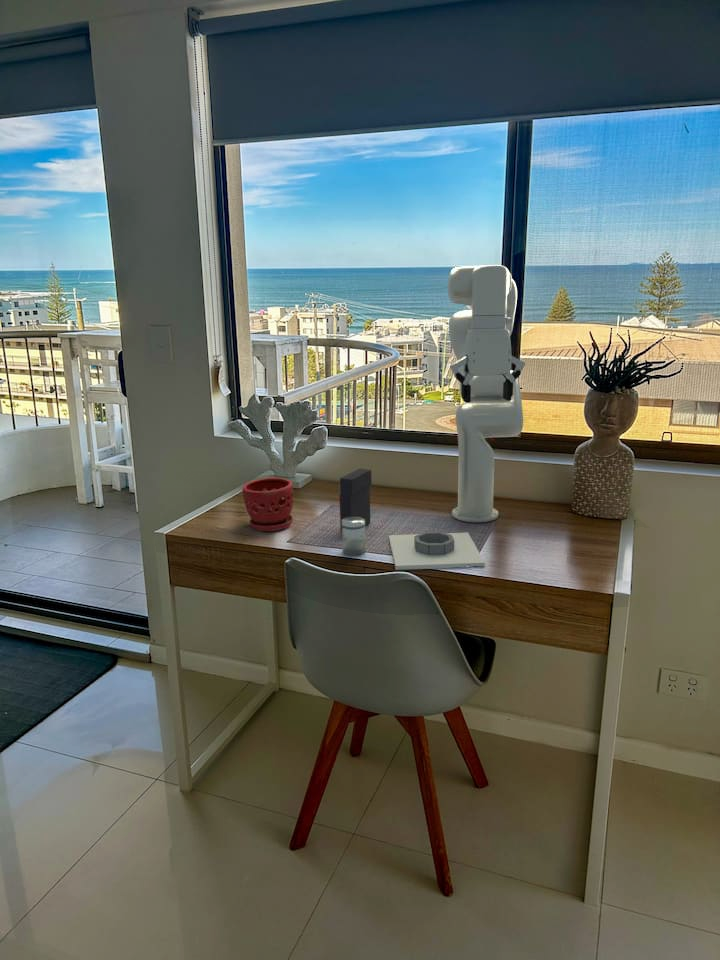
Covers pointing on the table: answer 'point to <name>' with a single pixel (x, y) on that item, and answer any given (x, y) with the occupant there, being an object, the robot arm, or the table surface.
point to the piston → (353, 536)
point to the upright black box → (355, 495)
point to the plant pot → (269, 503)
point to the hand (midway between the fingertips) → (486, 400)
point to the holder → (434, 551)
